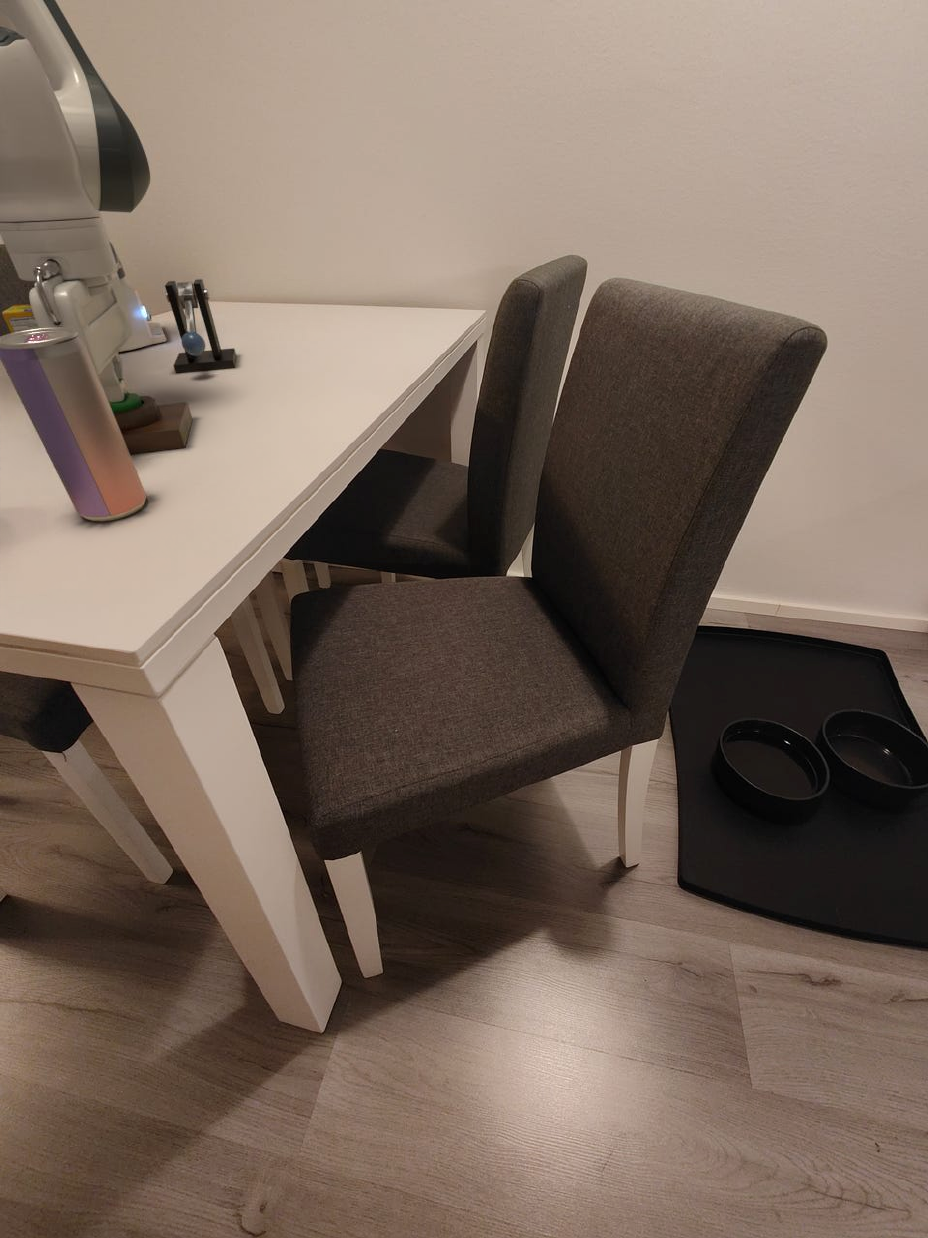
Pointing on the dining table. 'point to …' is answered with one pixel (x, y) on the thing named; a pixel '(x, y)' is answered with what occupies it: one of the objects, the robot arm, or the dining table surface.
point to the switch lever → (190, 319)
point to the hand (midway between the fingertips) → (119, 398)
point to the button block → (154, 426)
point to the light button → (126, 403)
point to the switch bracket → (216, 355)
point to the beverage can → (73, 420)
